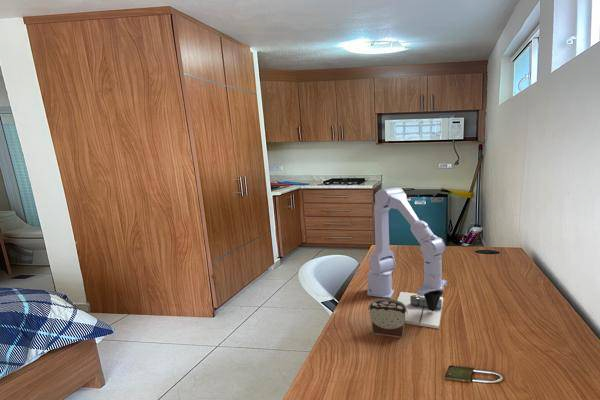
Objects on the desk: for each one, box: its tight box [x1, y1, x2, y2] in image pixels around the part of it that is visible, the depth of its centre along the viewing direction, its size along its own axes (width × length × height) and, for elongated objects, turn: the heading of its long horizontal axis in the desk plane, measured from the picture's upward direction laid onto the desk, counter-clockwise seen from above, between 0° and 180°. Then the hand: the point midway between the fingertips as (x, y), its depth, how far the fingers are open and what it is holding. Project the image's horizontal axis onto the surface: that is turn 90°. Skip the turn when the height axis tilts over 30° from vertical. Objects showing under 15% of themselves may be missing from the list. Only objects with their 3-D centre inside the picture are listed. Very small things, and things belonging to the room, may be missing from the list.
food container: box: [367, 298, 408, 339], centre depth 117 cm, size 12×6×10 cm, turn 71°
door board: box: [396, 291, 444, 330], centre depth 132 cm, size 16×24×3 cm, turn 156°
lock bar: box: [410, 295, 443, 310], centre depth 132 cm, size 11×4×3 cm, turn 69°
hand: (432, 309), depth 127 cm, fingers closed
